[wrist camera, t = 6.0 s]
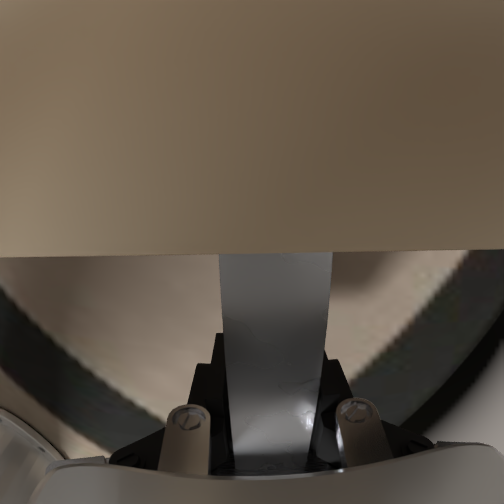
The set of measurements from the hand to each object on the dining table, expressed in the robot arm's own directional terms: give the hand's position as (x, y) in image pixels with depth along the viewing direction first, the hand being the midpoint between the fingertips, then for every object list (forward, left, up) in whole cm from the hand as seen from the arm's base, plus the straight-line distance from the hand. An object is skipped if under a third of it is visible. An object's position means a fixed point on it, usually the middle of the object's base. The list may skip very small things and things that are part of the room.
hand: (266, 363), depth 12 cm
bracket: (+14, 0, -4) cm, 14 cm away
